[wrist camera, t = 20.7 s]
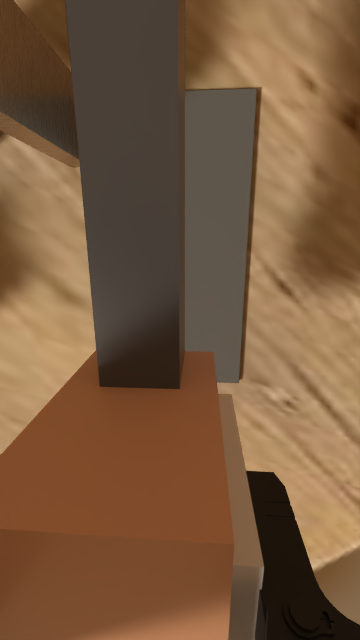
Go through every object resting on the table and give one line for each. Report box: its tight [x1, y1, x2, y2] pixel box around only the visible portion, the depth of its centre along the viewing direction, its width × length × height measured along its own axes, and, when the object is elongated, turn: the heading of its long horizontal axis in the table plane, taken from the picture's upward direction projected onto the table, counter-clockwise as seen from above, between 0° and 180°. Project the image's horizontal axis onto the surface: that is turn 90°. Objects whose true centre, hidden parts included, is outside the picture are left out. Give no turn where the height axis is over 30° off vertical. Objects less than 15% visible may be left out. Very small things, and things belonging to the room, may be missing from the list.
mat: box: [185, 88, 257, 383], centre depth 23 cm, size 22×11×1 cm, turn 0°
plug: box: [0, 0, 234, 640], centre depth 8 cm, size 19×5×8 cm, turn 0°
